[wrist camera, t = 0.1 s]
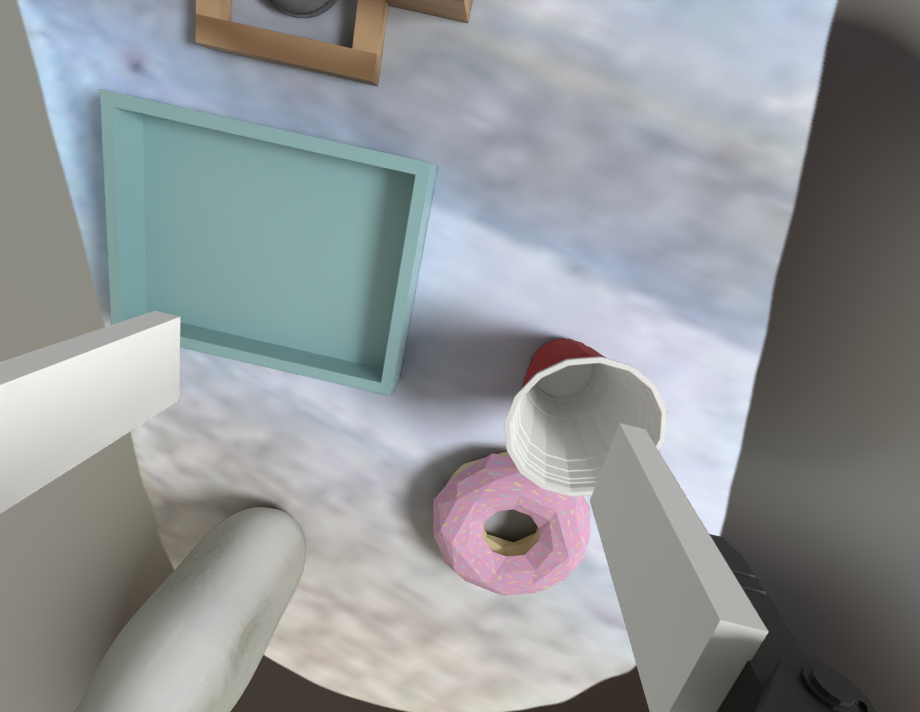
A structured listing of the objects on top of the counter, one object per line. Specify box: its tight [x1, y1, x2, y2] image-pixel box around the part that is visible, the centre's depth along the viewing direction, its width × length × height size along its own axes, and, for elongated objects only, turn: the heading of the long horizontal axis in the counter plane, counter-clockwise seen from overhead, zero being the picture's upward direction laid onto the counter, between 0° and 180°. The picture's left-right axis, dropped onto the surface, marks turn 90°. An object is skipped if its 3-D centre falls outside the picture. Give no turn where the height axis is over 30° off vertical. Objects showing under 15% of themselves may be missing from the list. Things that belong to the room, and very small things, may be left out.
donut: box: [433, 452, 590, 595], centre depth 46 cm, size 16×15×5 cm
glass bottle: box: [74, 507, 306, 712], centre depth 38 cm, size 10×10×28 cm
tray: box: [100, 89, 438, 396], centre depth 39 cm, size 19×25×4 cm
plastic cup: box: [505, 339, 667, 496], centre depth 37 cm, size 11×11×12 cm
